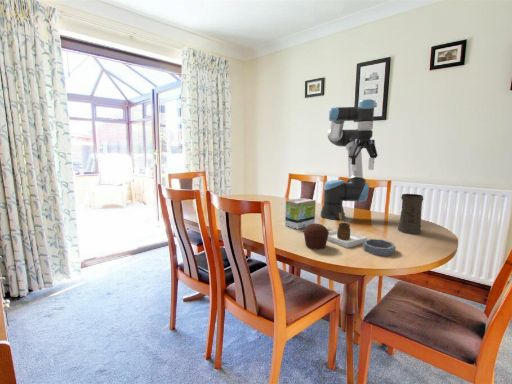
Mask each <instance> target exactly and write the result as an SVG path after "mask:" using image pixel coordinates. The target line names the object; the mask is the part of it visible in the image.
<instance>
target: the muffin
mask: <svg viewBox="0 0 512 384" xmlns="http://www.w3.org/2000/svg"><path fill="white" fill-rule="evenodd" d="M302 232H303V234H304V235H303V236H304V243H305V246H306V247H307V248H308V249H311V250H323V249H325V248H326V246H327V242H328V241H327V238H328V234H329V230H328V229H327V227H325V225H323V224H322V223H314V224H310V225H308V226H307V227H304V229H303V230H302Z"/></svg>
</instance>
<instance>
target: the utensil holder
mask: <svg viewBox="0 0 512 384" xmlns="http://www.w3.org/2000/svg"><path fill="white" fill-rule="evenodd" d="M347 218H348V220H347V221H348V222H347V221H345V222H343V221H342V219H343V218H342V213H340V214H339V219H338V220H340V222H339V223H338V227H337V229H336V230H337V237H338V239H341V240H349V239H350V232H351V228H350V227H351V225H350V217H349V216H345V218H344V219H347Z"/></svg>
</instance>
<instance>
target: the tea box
mask: <svg viewBox="0 0 512 384" xmlns="http://www.w3.org/2000/svg"><path fill="white" fill-rule="evenodd" d="M316 203H317V201H316V200H315V199H310V198H303V197H300V198H296V199H290V200H289V199H288V200H285V213H284V214H285V216H284V219H285V220H284V225H285V226H286V227H288V226H289V228H291V229H292V228H293V229H295V228H296V229H295V230H299V229H302V228H306V227H307V226H308V225H310V224H316V223H315V221H316V219H315V218H316Z"/></svg>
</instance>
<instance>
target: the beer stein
mask: <svg viewBox="0 0 512 384" xmlns="http://www.w3.org/2000/svg"><path fill="white" fill-rule="evenodd" d="M400 198H401V211H400V217H399V218H400V219H399V222H398V227H397V230H398V232H400V233H404V234H408V235H418V234H421V233H422V229H421V228H422V225H421V224H422V208H423V206H422V204H423V201H424V196H423V195H422V194H417V193H416V194H415V193H403V194H401V197H400Z"/></svg>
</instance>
